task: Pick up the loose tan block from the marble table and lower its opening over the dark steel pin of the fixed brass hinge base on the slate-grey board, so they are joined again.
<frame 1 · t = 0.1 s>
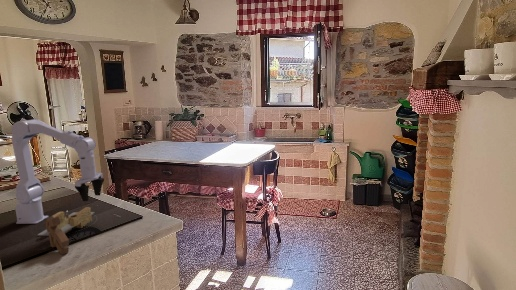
hand: (91, 198, 149), 10 cm above the countertop, tool pointing down, fingers open, 7 cm apart
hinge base: (61, 219, 143), on the board
figurine: (59, 249, 124), on the countertop
board: (68, 223, 148), on the countertop
tan block: (75, 230, 140), on the countertop
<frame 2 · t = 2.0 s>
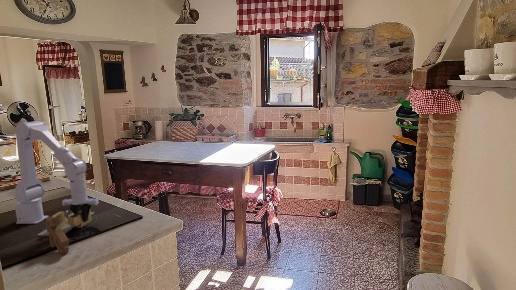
hand: (82, 221, 145), 2 cm above the countertop, tool pointing down, fingers closed on tan block, 2 cm apart
tan block: (75, 230, 140), on the countertop, touching gripper
everything else where it was.
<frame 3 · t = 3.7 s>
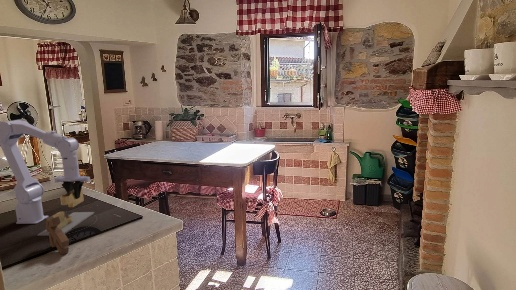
hand: (74, 198, 149), 10 cm above the countertop, tool pointing down, fingers closed on tan block
tan block: (67, 209, 144), point 7 cm above the countertop, touching gripper
everything else where it was.
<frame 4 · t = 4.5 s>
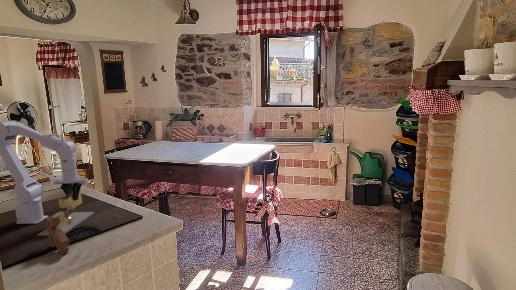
hand: (73, 199, 152), 9 cm above the countertop, tool pointing down, fingers closed on tan block
tan block: (66, 212, 146), point 5 cm above the countertop, touching gripper
everything else where it was.
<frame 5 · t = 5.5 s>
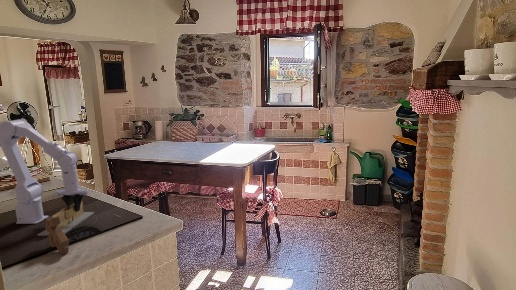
hand: (74, 211, 152), 4 cm above the countertop, tool pointing down, fingers closed on tan block, 2 cm apart
tan block: (67, 222, 147), resting on board, touching gripper
everything else where it was.
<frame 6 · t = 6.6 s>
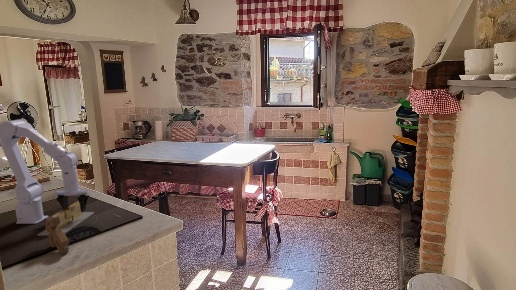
hand: (74, 211, 153), 3 cm above the countertop, tool pointing down, fingers open, 7 cm apart
tan block: (67, 222, 147), resting on board
everything else where it was.
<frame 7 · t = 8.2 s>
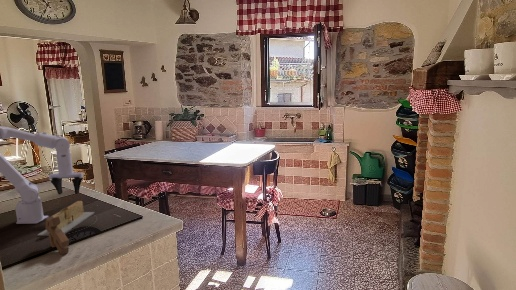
hand: (68, 193, 158), 9 cm above the countertop, tool pointing down, fingers open, 7 cm apart
nothing on the countertop moved.
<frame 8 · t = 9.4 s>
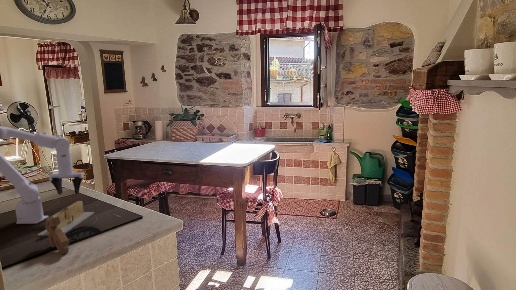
hand: (68, 193, 158), 9 cm above the countertop, tool pointing down, fingers open, 7 cm apart
nothing on the countertop moved.
at the end: tan block 0.3 cm off-centre on the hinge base, point 0.5 cm above the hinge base's base; tan block tilted 0°; the gripper is holding nothing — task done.
